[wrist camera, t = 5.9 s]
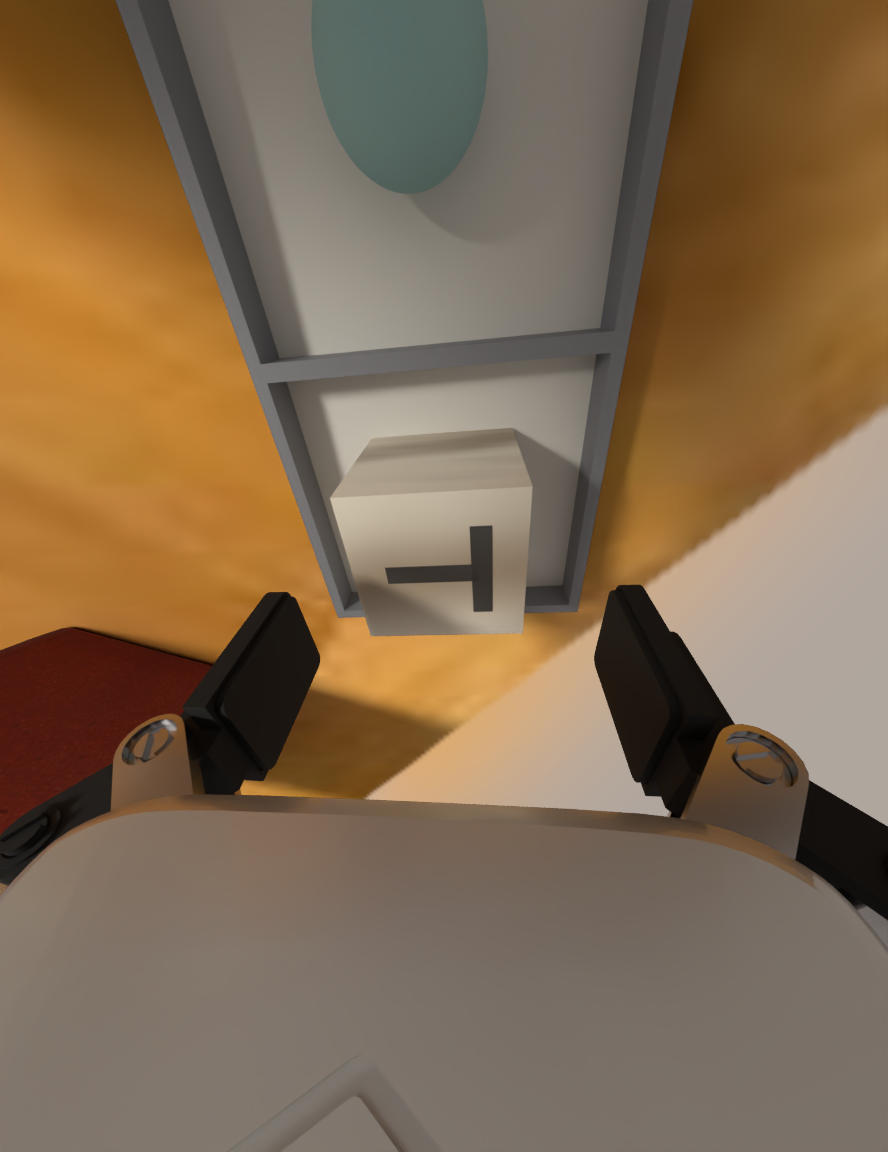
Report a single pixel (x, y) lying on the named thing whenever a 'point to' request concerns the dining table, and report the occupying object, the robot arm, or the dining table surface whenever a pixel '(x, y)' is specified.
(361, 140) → the teal ball
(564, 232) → the compartment box
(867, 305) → the dining table surface
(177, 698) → the plant pot
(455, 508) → the letter cube
